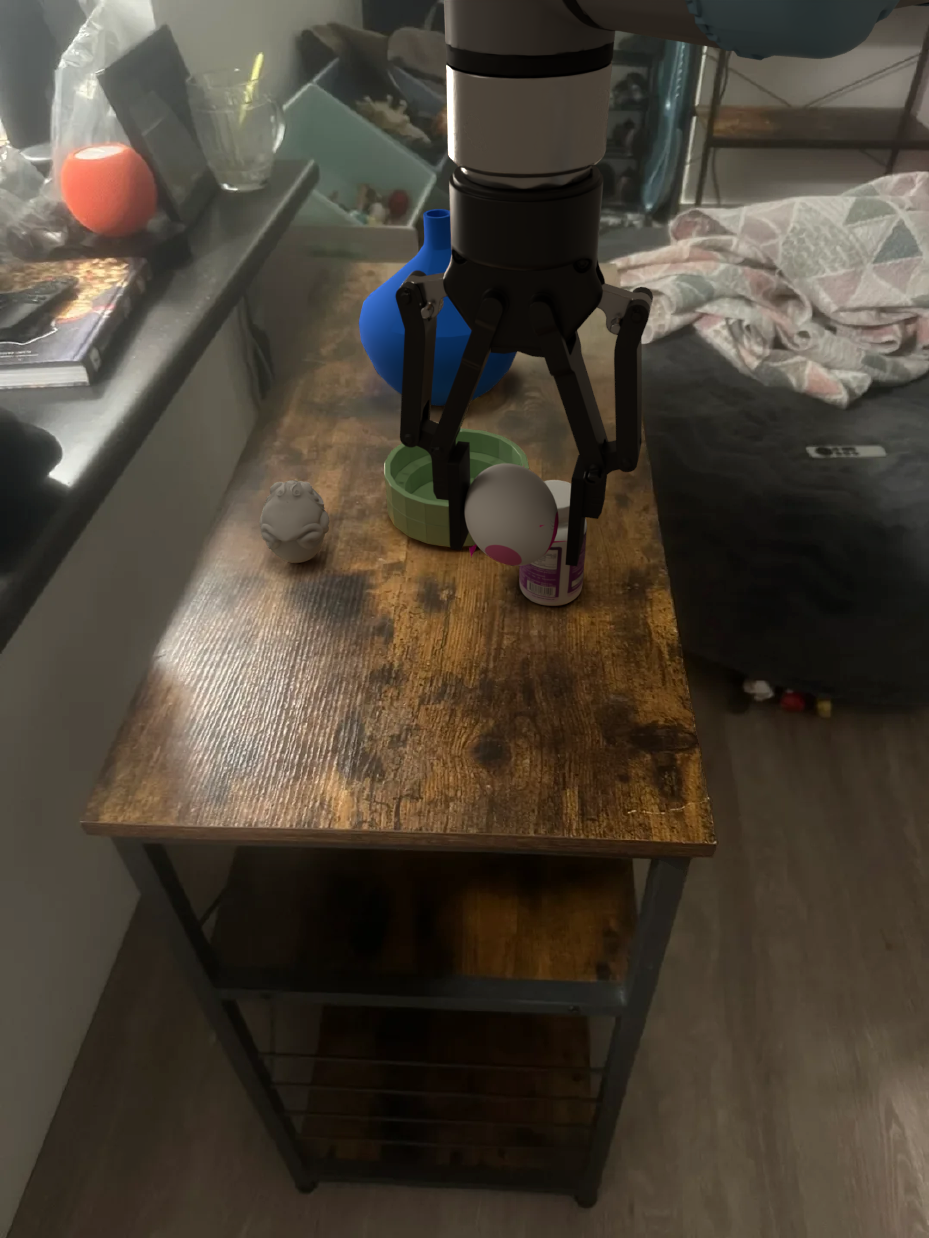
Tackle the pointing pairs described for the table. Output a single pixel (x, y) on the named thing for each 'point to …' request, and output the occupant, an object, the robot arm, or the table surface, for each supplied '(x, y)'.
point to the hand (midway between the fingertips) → (517, 544)
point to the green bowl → (414, 484)
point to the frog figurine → (294, 521)
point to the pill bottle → (555, 560)
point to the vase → (452, 332)
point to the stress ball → (511, 515)
